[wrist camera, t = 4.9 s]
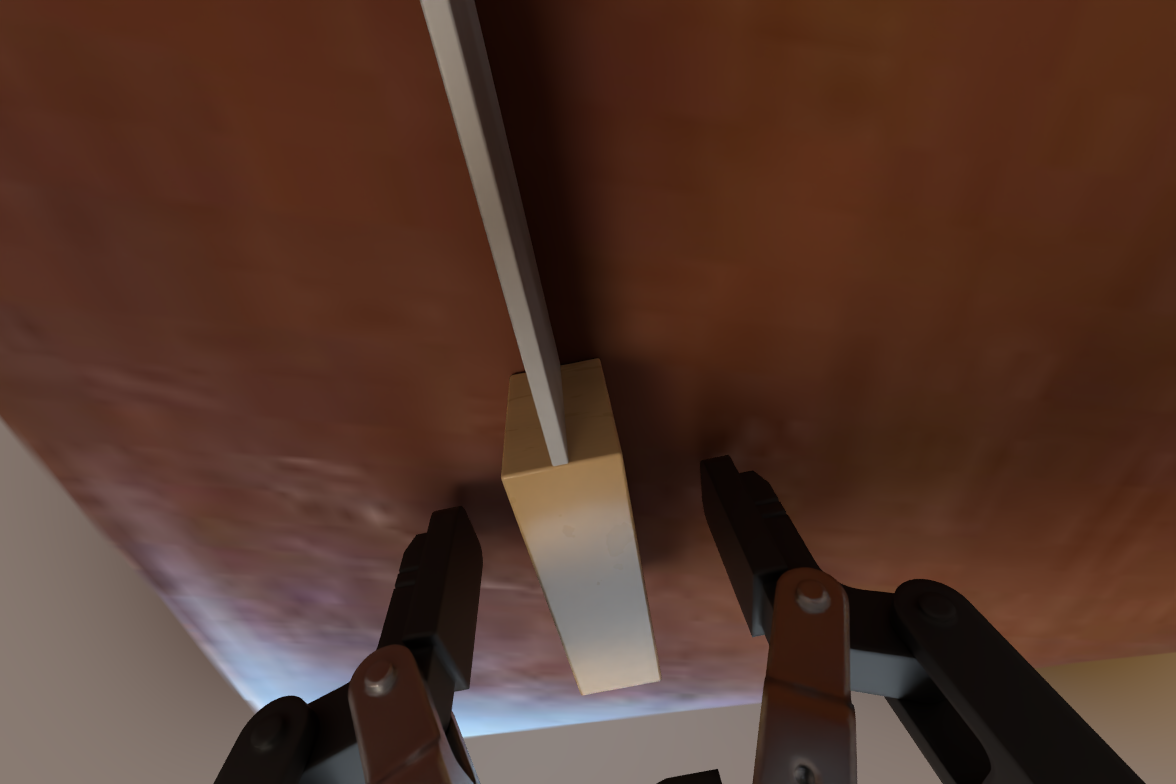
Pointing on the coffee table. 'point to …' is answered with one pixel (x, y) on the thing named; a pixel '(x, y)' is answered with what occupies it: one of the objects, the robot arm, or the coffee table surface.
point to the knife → (550, 407)
